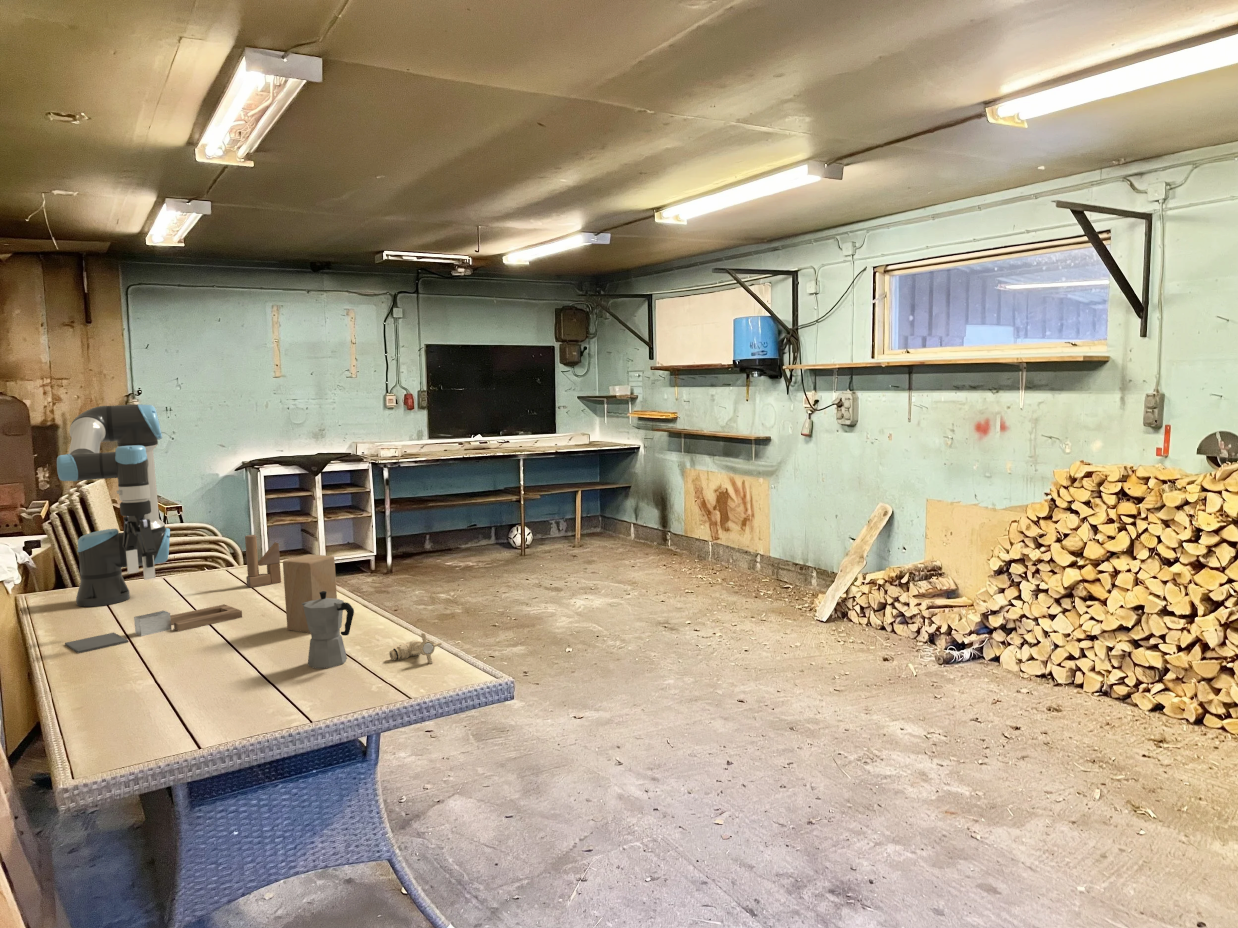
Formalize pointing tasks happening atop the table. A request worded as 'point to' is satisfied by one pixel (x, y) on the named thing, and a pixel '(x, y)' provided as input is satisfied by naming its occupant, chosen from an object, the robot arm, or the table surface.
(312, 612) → the coffeepot
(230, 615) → the slot board
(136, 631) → the aluminium block
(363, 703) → the table surface
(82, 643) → the rubber mat
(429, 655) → the valve
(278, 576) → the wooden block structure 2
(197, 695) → the table surface
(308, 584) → the wooden block
